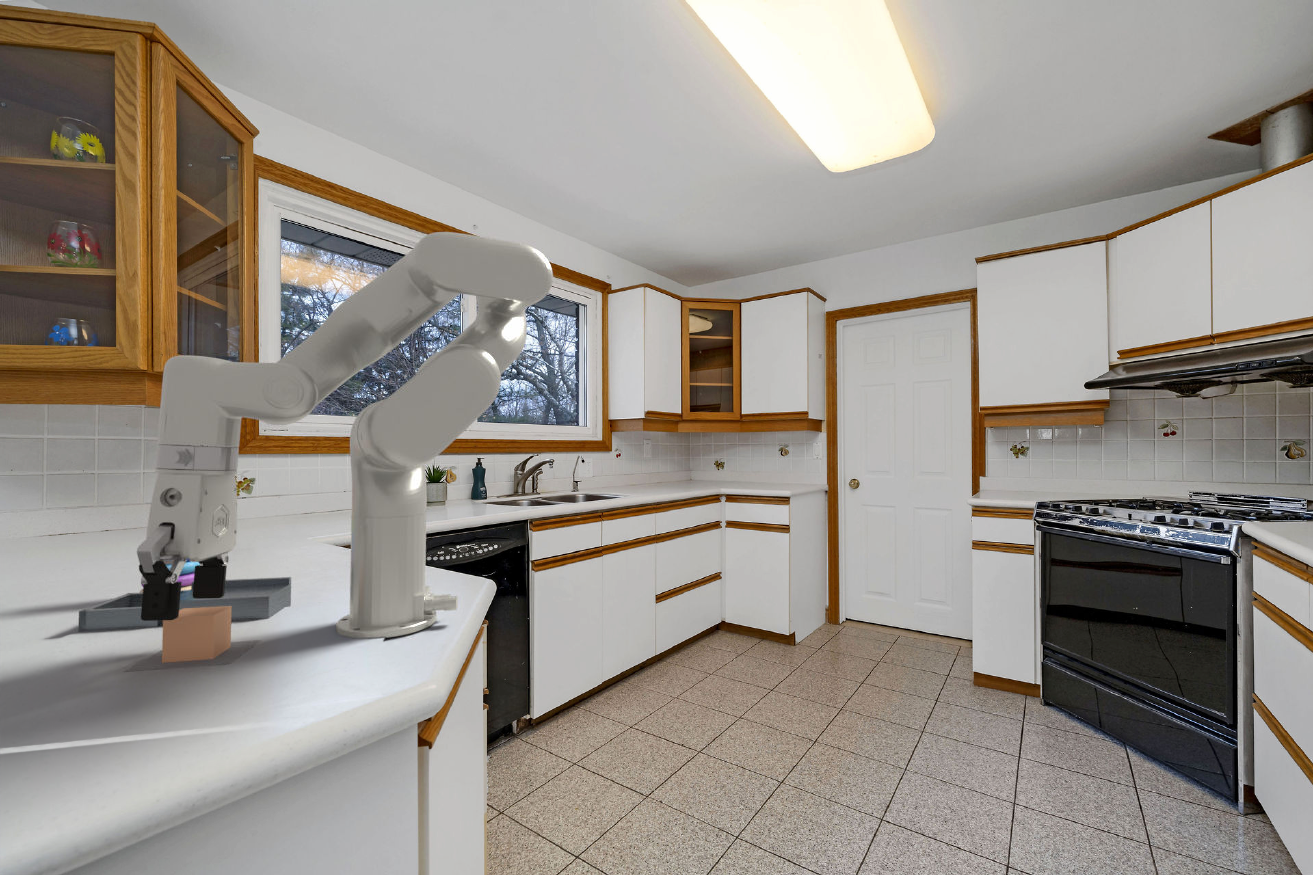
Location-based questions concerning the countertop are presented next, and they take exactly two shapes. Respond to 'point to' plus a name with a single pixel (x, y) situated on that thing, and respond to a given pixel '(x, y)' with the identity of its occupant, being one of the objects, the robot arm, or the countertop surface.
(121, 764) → the countertop surface
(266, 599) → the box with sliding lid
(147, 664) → the mat
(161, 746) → the countertop surface
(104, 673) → the countertop surface
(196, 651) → the tan cardboard box
